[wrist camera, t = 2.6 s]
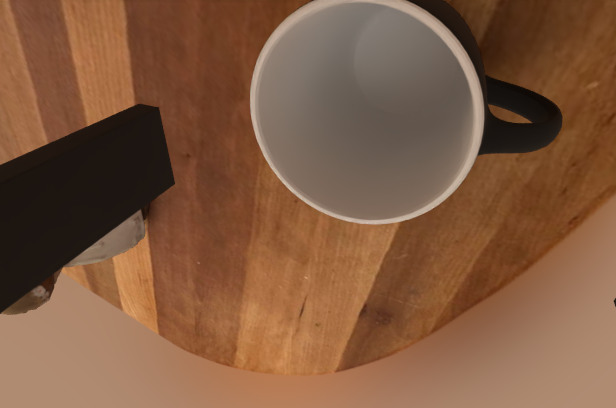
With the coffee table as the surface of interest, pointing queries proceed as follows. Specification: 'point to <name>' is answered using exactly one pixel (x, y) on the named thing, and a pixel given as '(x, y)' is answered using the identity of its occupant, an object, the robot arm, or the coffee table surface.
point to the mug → (383, 107)
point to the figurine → (88, 259)
